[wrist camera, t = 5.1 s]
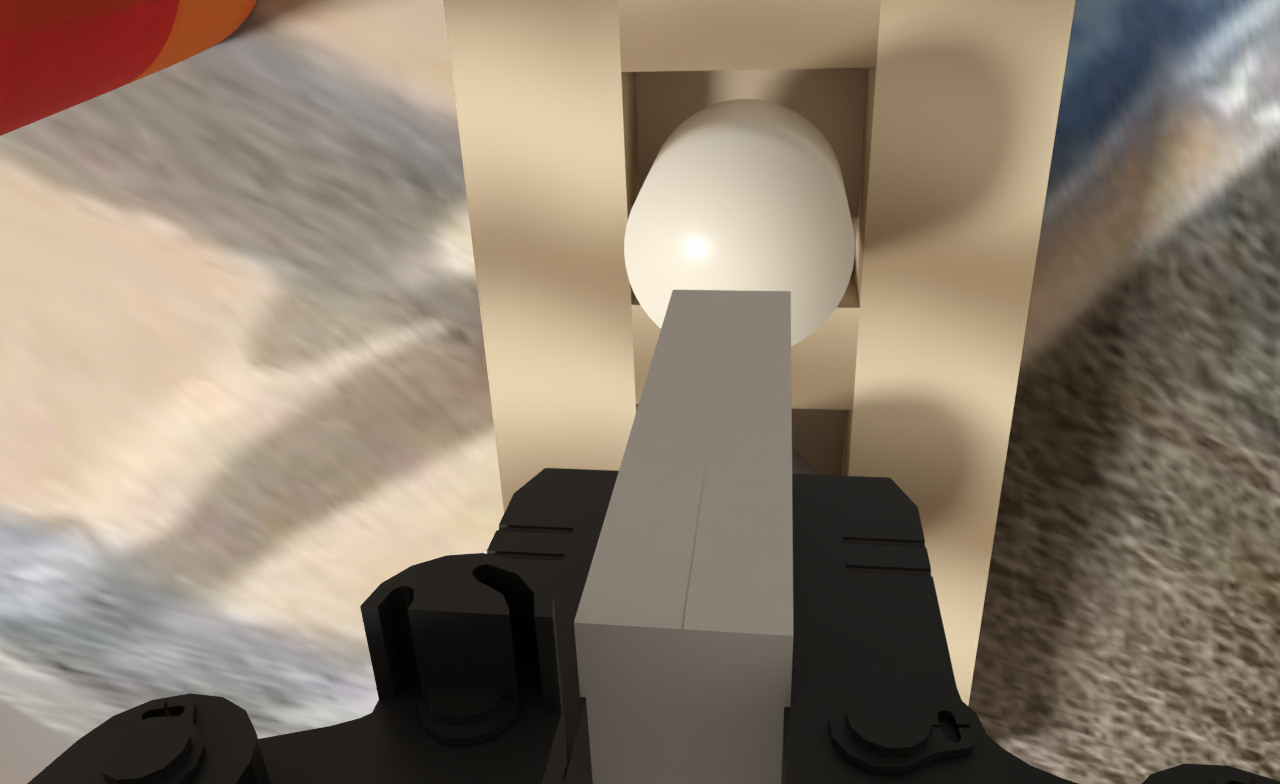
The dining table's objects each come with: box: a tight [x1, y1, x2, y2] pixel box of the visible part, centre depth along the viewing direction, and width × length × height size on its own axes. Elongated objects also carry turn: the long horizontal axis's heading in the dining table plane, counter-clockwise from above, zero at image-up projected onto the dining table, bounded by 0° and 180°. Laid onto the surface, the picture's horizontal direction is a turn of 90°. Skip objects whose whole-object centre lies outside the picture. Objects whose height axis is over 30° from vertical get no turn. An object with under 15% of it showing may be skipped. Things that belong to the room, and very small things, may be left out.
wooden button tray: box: [444, 0, 1076, 706], centre depth 26 cm, size 24×12×4 cm, turn 2°
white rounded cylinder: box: [624, 99, 855, 346], centre depth 19 cm, size 4×4×4 cm
